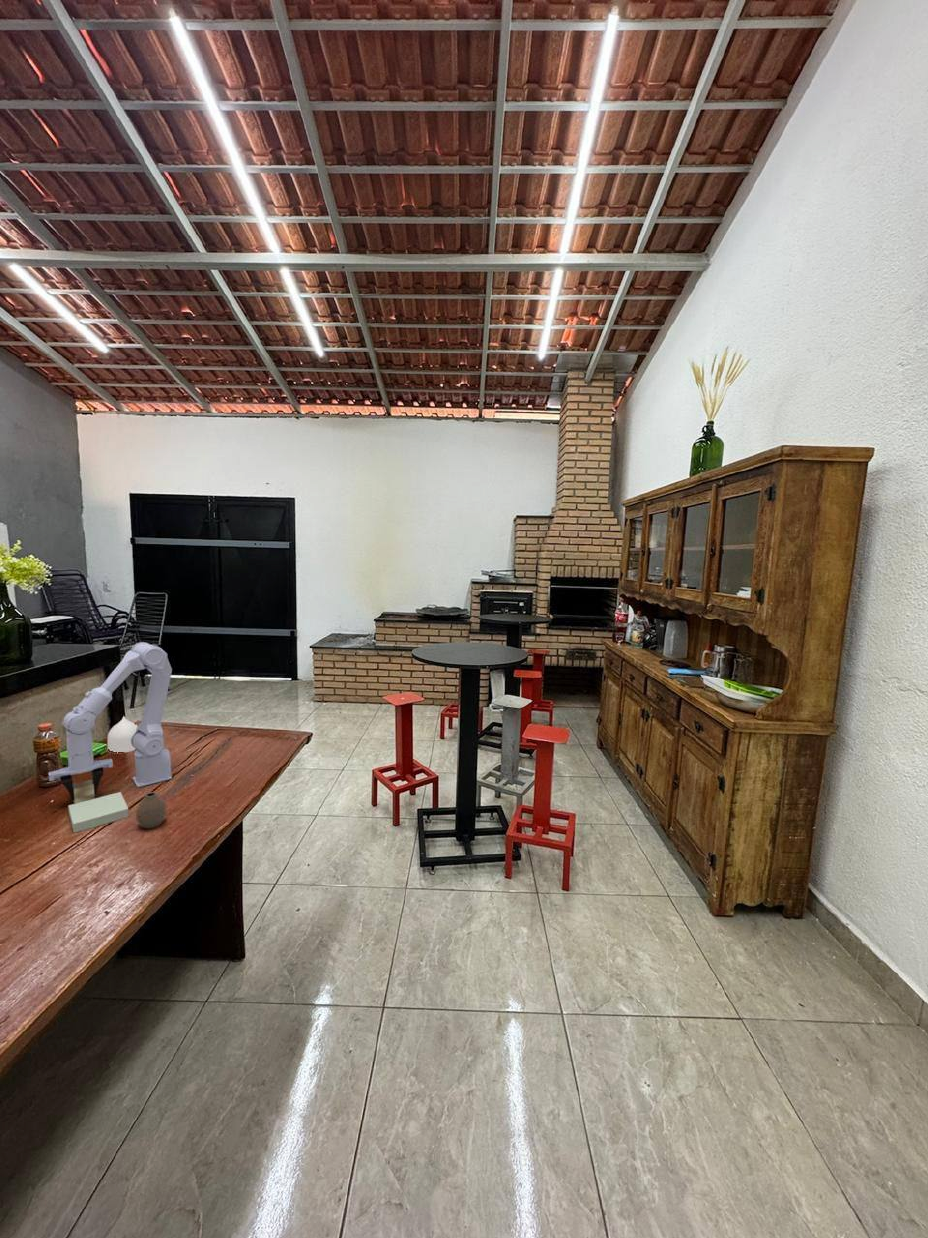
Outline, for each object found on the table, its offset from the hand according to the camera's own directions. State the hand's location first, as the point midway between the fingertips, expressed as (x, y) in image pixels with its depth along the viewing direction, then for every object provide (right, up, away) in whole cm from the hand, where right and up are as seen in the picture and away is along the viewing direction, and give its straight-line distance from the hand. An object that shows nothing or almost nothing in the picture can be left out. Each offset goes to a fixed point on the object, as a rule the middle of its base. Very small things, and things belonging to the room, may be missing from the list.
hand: (83, 796), depth 143 cm
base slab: (+10, -3, -7) cm, 12 cm away
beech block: (0, -1, 0) cm, 1 cm away
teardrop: (-14, +4, +38) cm, 40 cm away
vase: (+26, -4, -10) cm, 29 cm away
